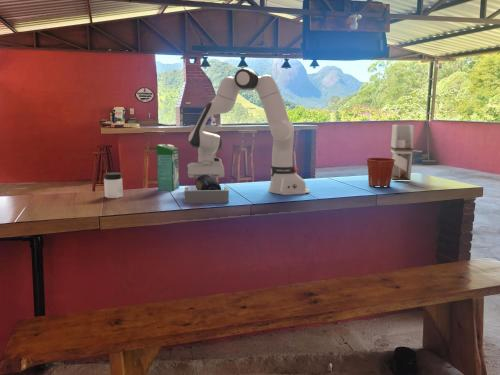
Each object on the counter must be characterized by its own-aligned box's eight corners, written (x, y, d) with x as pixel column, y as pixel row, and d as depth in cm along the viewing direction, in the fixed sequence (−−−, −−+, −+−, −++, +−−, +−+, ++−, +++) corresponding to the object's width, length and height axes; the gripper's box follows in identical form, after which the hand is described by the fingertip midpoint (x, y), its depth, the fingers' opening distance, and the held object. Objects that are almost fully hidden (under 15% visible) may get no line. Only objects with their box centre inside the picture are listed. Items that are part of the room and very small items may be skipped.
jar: (113, 194, 223) (112, 171, 221) (126, 195, 220) (125, 172, 218) (101, 197, 215) (100, 174, 213) (114, 199, 212) (113, 175, 210)
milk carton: (173, 190, 234) (172, 145, 229) (157, 190, 236) (156, 144, 231) (179, 187, 243) (178, 143, 238) (164, 187, 244) (162, 143, 240)
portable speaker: (194, 192, 231) (194, 173, 229) (212, 191, 233) (212, 173, 232) (202, 202, 207) (202, 181, 205) (223, 200, 210) (222, 180, 208)
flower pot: (359, 185, 254) (360, 158, 251) (374, 182, 265) (376, 156, 262) (383, 189, 242) (385, 161, 239) (399, 186, 252) (401, 159, 249)
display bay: (227, 198, 215) (227, 186, 214) (228, 202, 206) (228, 190, 205) (185, 199, 213) (185, 187, 212) (184, 203, 204) (184, 191, 203)
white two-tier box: (388, 178, 279) (392, 124, 272) (405, 179, 278) (409, 125, 271) (392, 181, 268) (396, 125, 261) (410, 182, 267) (414, 125, 260)
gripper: (187, 159, 236) (186, 179, 228) (224, 159, 238) (224, 179, 230) (187, 166, 241) (187, 186, 233) (223, 165, 243) (224, 185, 235)
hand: (206, 182), depth 232 cm, fingers closed
